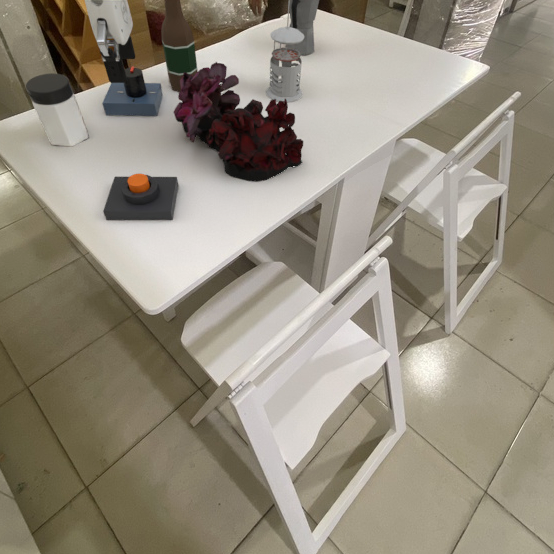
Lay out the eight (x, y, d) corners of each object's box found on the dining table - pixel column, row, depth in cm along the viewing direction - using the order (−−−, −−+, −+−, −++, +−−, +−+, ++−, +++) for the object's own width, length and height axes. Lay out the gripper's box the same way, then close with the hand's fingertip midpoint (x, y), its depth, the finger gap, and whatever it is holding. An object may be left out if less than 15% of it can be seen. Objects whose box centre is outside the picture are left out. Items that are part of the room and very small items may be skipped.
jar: (48, 129, 90) (23, 75, 81) (85, 122, 93) (66, 69, 83) (51, 151, 86) (25, 96, 76) (91, 143, 88) (71, 89, 78)
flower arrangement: (314, 154, 88) (323, 87, 77) (254, 198, 79) (254, 129, 67) (214, 104, 100) (209, 39, 88) (152, 136, 90) (136, 68, 78)
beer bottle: (163, 84, 105) (143, -27, 86) (188, 75, 109) (173, -33, 90) (180, 96, 102) (163, -17, 83) (205, 86, 105) (194, -24, 86)
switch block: (106, 220, 73) (99, 203, 70) (117, 185, 79) (111, 168, 76) (172, 220, 74) (168, 203, 71) (178, 185, 80) (175, 169, 77)
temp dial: (145, 97, 95) (140, 76, 91) (124, 97, 94) (118, 75, 90) (148, 87, 98) (143, 66, 94) (128, 87, 97) (122, 66, 93)
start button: (128, 193, 73) (125, 185, 71) (131, 181, 75) (129, 173, 73) (148, 193, 73) (146, 186, 71) (151, 181, 75) (149, 173, 74)
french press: (272, 104, 101) (275, -13, 81) (258, 83, 108) (258, -31, 88) (308, 99, 103) (320, -17, 84) (292, 78, 110) (300, -33, 90)
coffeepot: (292, 38, 127) (297, -31, 113) (320, 44, 125) (328, -26, 111) (275, 57, 118) (277, -15, 103) (305, 64, 116) (311, -10, 102)
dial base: (106, 115, 95) (101, 102, 93) (114, 94, 101) (111, 81, 99) (157, 115, 96) (154, 103, 93) (162, 95, 102) (160, 82, 99)
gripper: (108, -23, 58) (136, 92, 72) (127, -55, 69) (149, 50, 82) (55, -24, 58) (93, 92, 71) (83, -56, 69) (111, 50, 82)
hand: (123, 69), depth 77 cm, fingers open, 9 cm apart
